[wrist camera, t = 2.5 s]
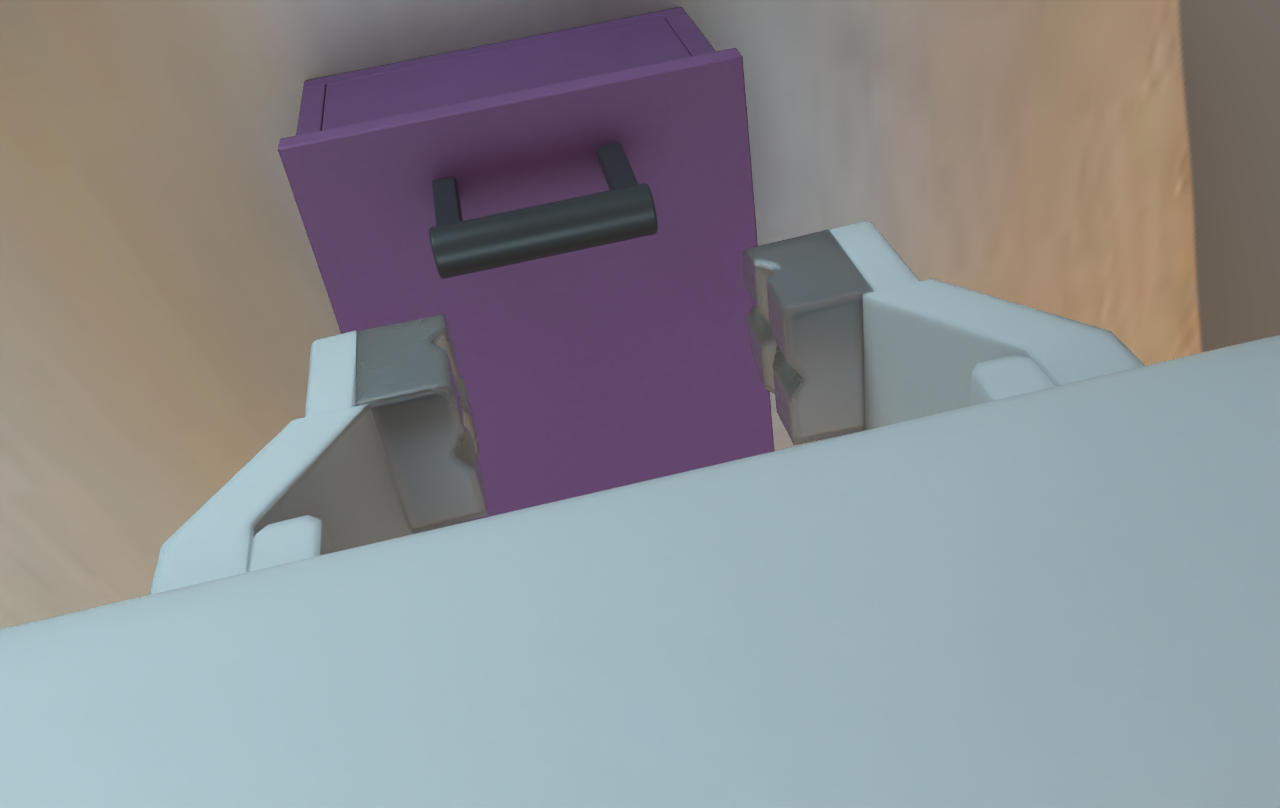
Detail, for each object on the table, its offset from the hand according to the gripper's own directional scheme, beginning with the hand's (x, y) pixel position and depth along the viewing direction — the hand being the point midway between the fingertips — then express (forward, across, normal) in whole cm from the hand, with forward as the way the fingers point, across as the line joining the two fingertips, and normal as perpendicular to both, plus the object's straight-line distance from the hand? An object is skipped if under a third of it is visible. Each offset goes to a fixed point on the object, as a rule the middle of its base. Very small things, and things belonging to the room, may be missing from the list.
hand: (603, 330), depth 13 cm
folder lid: (+21, 0, +14) cm, 25 cm away
